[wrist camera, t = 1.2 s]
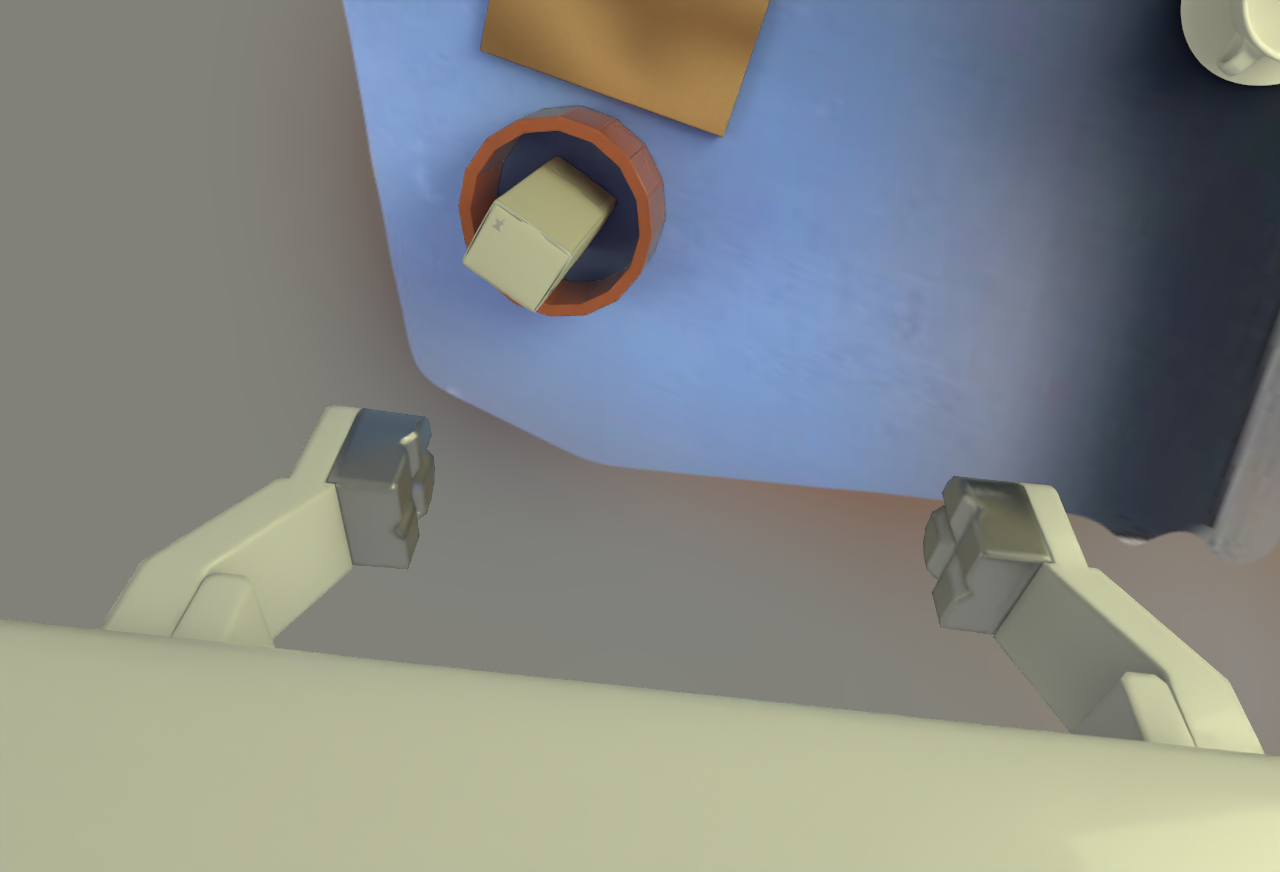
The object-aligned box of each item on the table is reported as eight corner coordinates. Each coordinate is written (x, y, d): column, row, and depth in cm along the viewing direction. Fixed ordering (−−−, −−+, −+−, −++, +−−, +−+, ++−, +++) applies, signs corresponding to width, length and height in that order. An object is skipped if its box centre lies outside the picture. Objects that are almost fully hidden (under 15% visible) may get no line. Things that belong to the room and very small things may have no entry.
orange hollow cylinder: (508, 79, 54) (480, 88, 49) (689, 144, 53) (677, 158, 49) (472, 256, 60) (444, 278, 55) (634, 316, 59) (619, 342, 55)
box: (525, 206, 57) (452, 260, 46) (558, 151, 55) (490, 194, 44) (589, 253, 58) (533, 317, 47) (624, 200, 56) (574, 255, 45)
